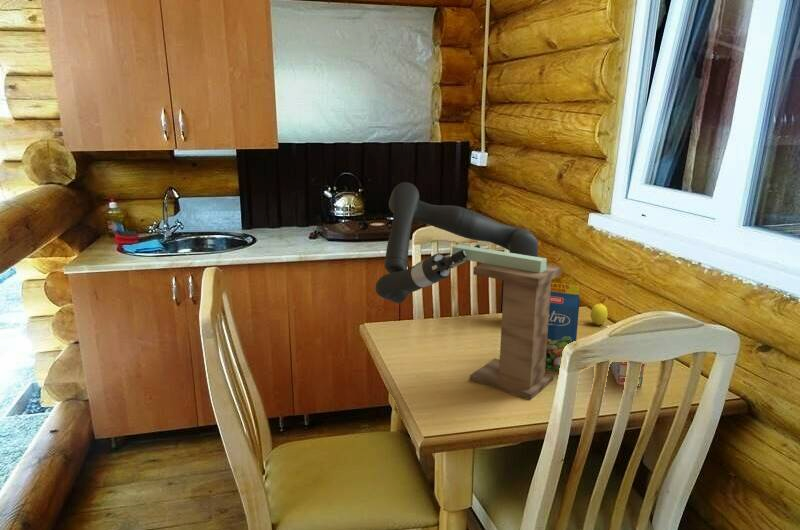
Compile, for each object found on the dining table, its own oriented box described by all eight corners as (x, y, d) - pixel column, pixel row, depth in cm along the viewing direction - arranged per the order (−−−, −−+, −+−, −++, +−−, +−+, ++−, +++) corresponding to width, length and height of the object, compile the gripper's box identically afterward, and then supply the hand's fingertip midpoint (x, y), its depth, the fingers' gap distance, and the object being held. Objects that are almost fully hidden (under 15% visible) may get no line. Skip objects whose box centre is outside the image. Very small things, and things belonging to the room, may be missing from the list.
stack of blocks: (604, 353, 171) (607, 315, 168) (625, 355, 170) (629, 317, 167) (617, 385, 151) (622, 342, 148) (642, 387, 150) (647, 344, 147)
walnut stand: (494, 363, 164) (499, 256, 156) (553, 380, 154) (561, 267, 146) (469, 380, 154) (473, 266, 146) (530, 399, 143) (538, 278, 135)
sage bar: (458, 255, 158) (459, 244, 158) (546, 270, 143) (546, 258, 142) (452, 257, 156) (452, 246, 155) (540, 272, 140) (540, 261, 139)
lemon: (608, 328, 192) (611, 305, 190) (592, 328, 192) (594, 305, 190) (603, 322, 197) (605, 300, 195) (587, 322, 198) (589, 300, 196)
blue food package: (571, 374, 157) (578, 288, 151) (528, 366, 162) (533, 283, 156) (574, 365, 163) (581, 282, 157) (532, 358, 168) (537, 277, 161)
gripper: (410, 264, 158) (453, 242, 148) (439, 254, 169) (480, 233, 159) (421, 288, 158) (465, 268, 147) (449, 277, 168) (491, 258, 158)
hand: (473, 250), depth 153 cm, fingers open, 8 cm apart
